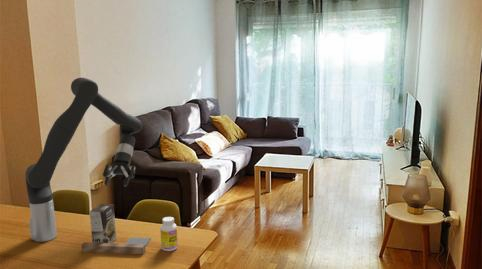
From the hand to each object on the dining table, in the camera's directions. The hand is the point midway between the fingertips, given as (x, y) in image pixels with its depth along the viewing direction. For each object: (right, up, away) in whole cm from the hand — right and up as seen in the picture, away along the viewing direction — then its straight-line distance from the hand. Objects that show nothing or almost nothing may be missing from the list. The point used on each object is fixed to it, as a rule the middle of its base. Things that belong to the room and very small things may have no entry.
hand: (115, 185), depth 179 cm
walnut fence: (+5, -25, -18) cm, 31 cm away
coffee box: (-1, -23, -10) cm, 26 cm away
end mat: (+13, -23, -12) cm, 29 cm away
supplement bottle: (+27, -24, -15) cm, 39 cm away
